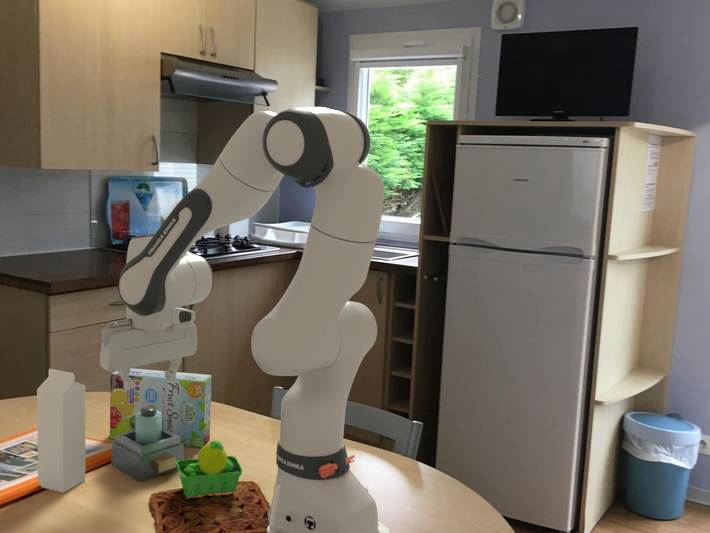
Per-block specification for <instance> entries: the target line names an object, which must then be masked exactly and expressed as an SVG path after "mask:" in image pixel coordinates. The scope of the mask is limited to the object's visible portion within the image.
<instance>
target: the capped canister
mask: <svg viewBox="0 0 710 533" xmlns="http://www.w3.org/2000/svg"><path fill="white" fill-rule="evenodd" d="M161 419H162V413H161V412H160V411H157V410H156V408H155V407H144V408H142V409H141V411H139V412H137V413H136V415H135V442H137V443H139V444H141V445H142V446H144V445H147V444H150V443H154V442H157V441H160V440H161Z"/></svg>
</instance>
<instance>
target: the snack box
mask: <svg viewBox="0 0 710 533" xmlns="http://www.w3.org/2000/svg"><path fill="white" fill-rule="evenodd" d="M165 371H166V370H157V369H156V370H155V369H153V370H152V369H143V368H130V374H128V376H129V378H130V379H131V380H134V381H135V389H134V390H130V391H126V390H124V381H123V380H122V378H121V377H120V375H119V374H118V371H116V372H110V379H109V380H110V381H109V382H110V386H109V387H110V394H109V398H110V399H109V439H111V440H115V435H117V434H121V433H124V432H128V431H131V430H135V415H136V413H137V412H139V411H141V409H142V408H144V407H155V408H156V410H157V411H160V412H161V413H162V419H161V428H163V429H165V430H167V431H170V432H172V433H174V434H176V435H178V436H180V442H181V443H183V444H184V447H192V448H201V449H202V448H203V447H204V446H205V445H206V444H208V443H209V442H210V437H211V412H212V411H211V404H212V401H211V400H212V380H213V379H212V378H213V377H212V376H213V375H211V374H202V373H191V372H182V371H181V372H179V371H176V379H175V380H172V381H168V380H166V379H165Z"/></svg>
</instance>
